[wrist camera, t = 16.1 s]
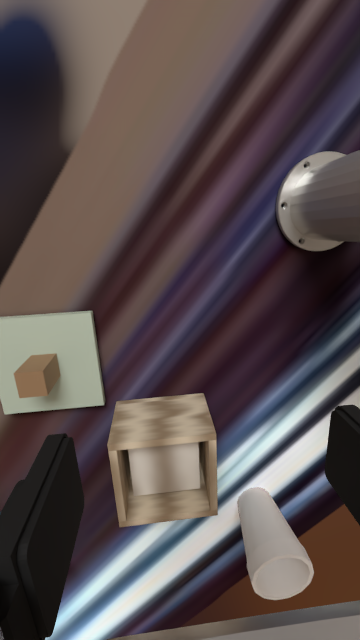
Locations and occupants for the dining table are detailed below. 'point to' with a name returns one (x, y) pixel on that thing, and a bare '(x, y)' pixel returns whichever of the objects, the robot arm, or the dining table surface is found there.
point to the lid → (49, 362)
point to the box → (163, 459)
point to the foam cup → (271, 548)
